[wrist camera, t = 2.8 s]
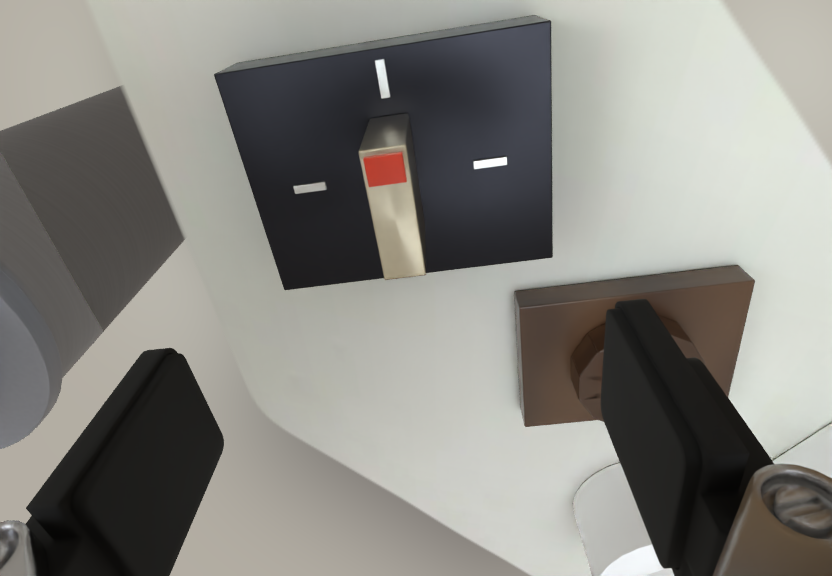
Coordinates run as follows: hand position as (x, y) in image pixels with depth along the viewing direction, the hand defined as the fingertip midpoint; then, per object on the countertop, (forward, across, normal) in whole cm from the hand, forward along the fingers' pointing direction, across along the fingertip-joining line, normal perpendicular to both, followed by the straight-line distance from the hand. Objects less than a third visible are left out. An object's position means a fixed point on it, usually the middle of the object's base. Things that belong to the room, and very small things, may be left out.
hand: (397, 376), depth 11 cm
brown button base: (+16, -10, +13) cm, 23 cm away
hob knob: (+13, +1, 0) cm, 13 cm away
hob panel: (+16, +1, 0) cm, 16 cm away
